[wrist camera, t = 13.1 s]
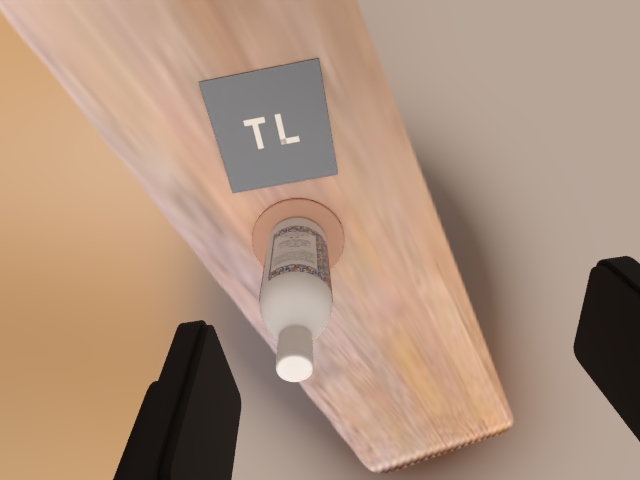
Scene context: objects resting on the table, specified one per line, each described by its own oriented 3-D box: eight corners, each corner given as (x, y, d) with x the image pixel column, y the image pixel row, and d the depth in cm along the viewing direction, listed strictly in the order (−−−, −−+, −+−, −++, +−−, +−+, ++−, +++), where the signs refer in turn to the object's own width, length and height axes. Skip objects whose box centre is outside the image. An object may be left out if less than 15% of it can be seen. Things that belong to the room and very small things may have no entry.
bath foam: (310, 273, 52) (314, 409, 34) (259, 253, 50) (235, 385, 32) (336, 229, 49) (355, 354, 31) (283, 206, 47) (271, 324, 29)
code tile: (198, 82, 41) (198, 82, 40) (318, 58, 40) (318, 58, 40) (233, 192, 46) (232, 193, 46) (337, 173, 46) (337, 174, 46)
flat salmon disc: (241, 207, 47) (241, 209, 47) (336, 190, 47) (336, 192, 46) (265, 283, 53) (264, 286, 52) (349, 269, 52) (350, 272, 52)
